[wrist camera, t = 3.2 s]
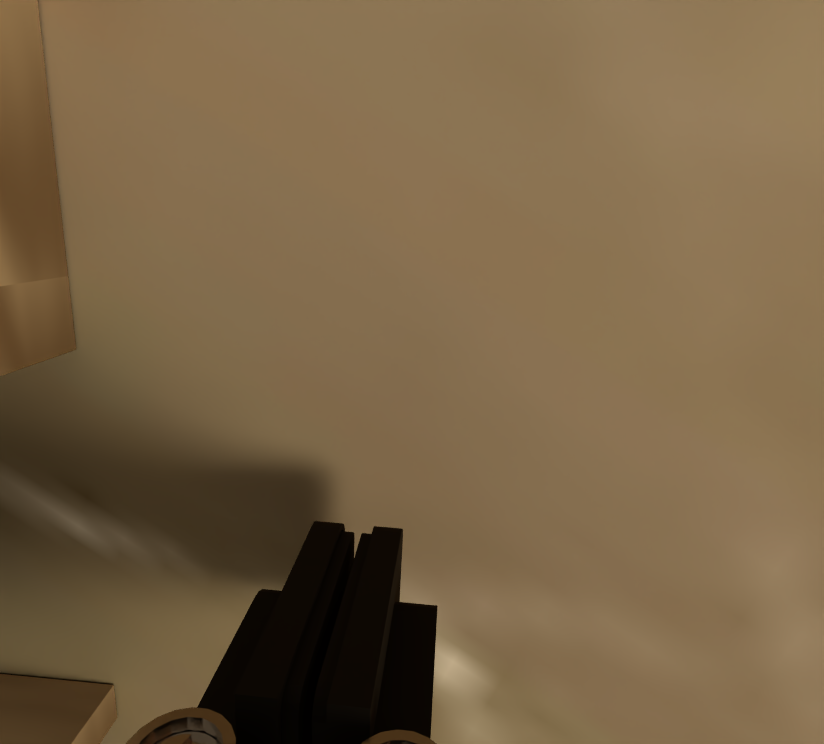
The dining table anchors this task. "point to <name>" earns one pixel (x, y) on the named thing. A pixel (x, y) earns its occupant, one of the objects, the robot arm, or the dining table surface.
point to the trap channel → (35, 333)
